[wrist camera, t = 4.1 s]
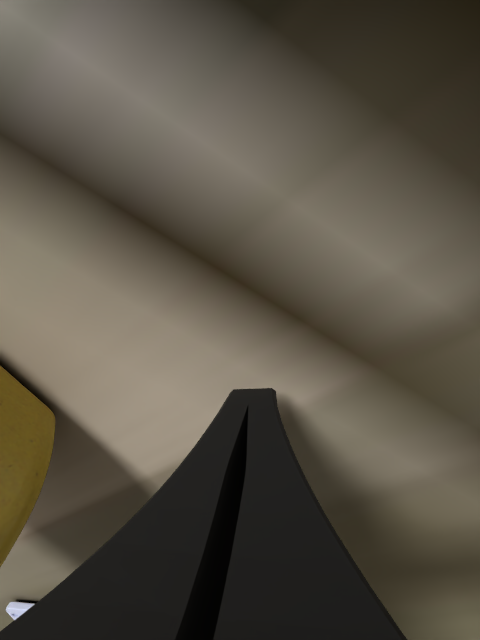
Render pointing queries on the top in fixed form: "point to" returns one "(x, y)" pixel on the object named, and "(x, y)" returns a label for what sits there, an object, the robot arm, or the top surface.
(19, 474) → the flower pot
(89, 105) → the top surface
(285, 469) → the robot arm
